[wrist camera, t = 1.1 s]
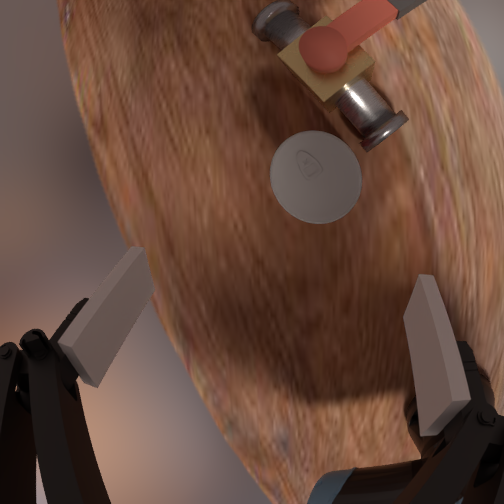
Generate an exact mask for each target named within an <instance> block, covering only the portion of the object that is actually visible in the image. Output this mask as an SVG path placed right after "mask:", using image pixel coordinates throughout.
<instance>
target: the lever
mask: <svg viewBox="0 0 504 504" xmlns="http://www.w3.org/2000/svg"><path fill="white" fill-rule="evenodd" d="M425 1H427V0H362V1H360V2H359V3H357V4H356V5H354V6H353V7H351V8H350V9H349V10H347V11H346V12H344V13H343V14H342V15H340V16H339V17H337V18H336V19H335V20H333V21H332V22H331V23H329V24H328V25H327V26H317V27H313V28H311V29H309V30H307V31H306V32H305V33H304V34H303V35H302V36H301V38H300V40H299V52H300V54H301V56H302V58H303V60H304V61H305V63H306V64H307V66H308V67H309V68H311V69H312V70H314V71H316V72H319V73H325V74H327V73H333V72H336V71H338V70H339V69H341V68H342V67H343V66H344V64H345V63H346V61H347V53H348V52H350V51H351V50H352V49H354V48H355V47H356V46H358V45H359V44H360V43H362V42H363V41H364V40H366V39H367V38H368V37H370V36H371V35H373V34H374V33H375V32H377V31H378V30H380V29H381V28H382V27H384V26H385V25H387V24H388V23H389V22H391V21H392V20H394V19H395V18H396V19H397V20H398V19H400V18H401V17H402V16H404V15H405V14H407V13H408V12H410V11H411V10H413V9H414V8H416V7H417V6H419V5H420V4H422V3H424V2H425Z"/></svg>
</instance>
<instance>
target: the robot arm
mask: <svg viewBox="0 0 504 504" xmlns="http://www.w3.org/2000/svg"><path fill="white" fill-rule="evenodd" d="M154 291H155V288H154V284H153V280H152V276H151V272H150V268H149V264H148V260H147V256H146V251H145V248H144V247H134V246H132V247H131V248H130V249H129V250H128V251H127V253H126V254H125V255H124V256H123V257H122V259H121V260H120V261H119V262H118V263H117V265H116V266H115V267H114V268H113V270H112V271H111V272H110V273H109V274H108V276H107V277H106V278H105V279H104V281H103V282H102V283H101V284H100V286H99V287H98V288H97V290H96V291H95V292H94V293H93V295H92V296H91V297H90V299H89V298H84V299H83V300H81V301H80V302H79V303H77V304H76V305H75V307H74V308H73V309H72V311H71V312H70V314H68V316H67V317H66V319H65V320H64V321H63V322H62V324H61V325H60V326H59V328H58V329H57V330H56V332H55V333H54V335H53V336H52V337H51V339H50V340H48V338H47V337H46V335H45V333H44V332H43V331H42V330H40V329H32V330H30V331H28V332H26V334H24V335H23V337H22V338H21V340H20V343H19V345H20V346H21V348H22V349H23V350H19V348H18V347H17V346H16V344H14V343H13V342H7V343H5V344H3V345H2V346H0V504H36V458H38V463H39V469H40V473H41V478H42V483H43V487H44V491H45V495H46V499H47V503H48V504H111V502H110V499H109V497H108V494H107V491H106V488H105V485H104V482H103V479H102V476H101V473H100V470H99V467H98V464H97V461H96V457H95V454H94V451H93V447H92V443H91V440H90V436H89V432H88V428H87V424H86V421H85V416H84V411H83V407H82V402H81V397H80V393H79V387H78V384H77V382H76V379H77V378H78V376H80V378H81V379H82V381H83V382H84V383H86V384H89V385H91V386H94V387H97V388H98V386H99V384H100V383H101V381H102V379H103V377H104V375H105V374H106V372H107V370H108V368H109V367H110V365H111V363H112V361H113V360H114V358H115V356H116V354H117V353H118V351H119V349H120V347H121V346H122V344H123V342H124V341H125V339H126V337H127V335H128V334H129V332H130V330H131V328H132V327H133V325H134V324H135V322H136V320H137V319H138V317H139V315H140V314H141V312H142V310H143V309H144V307H145V305H146V304H147V302H148V301H149V299H150V297H151V296H152V294H153V292H154ZM403 320H404V325H405V330H406V335H407V340H408V346H409V351H410V357H411V363H412V370H413V377H414V384H415V391H416V397H415V398H414V399H413V400H412V402H411V404H410V406H409V408H408V411H407V427H408V432H409V434H410V436H411V438H412V440H413V441H414V443H415V445H416V447H417V448H418V450H419V452H420V454H421V459H419V460H414V461H408V462H402V463H396V464H389V465H382V466H374V467H365V468H356V467H354V468H352V469H348V470H339V471H331V472H328V473H326V474H324V475H323V476H322V477H321V478H320V479H319V480H318V481H317V483H316V484H315V486H314V488H313V490H312V492H311V495H310V497H309V499H308V502H307V504H504V416H501V415H498V413H497V411H496V409H495V408H494V404H495V398H494V393H493V390H492V388H491V385H490V383H489V381H488V380H487V379H486V378H485V377H484V376H482V375H480V374H479V371H478V368H477V364H476V363H475V357H474V354H473V351H472V349H471V348H470V347H469V345H468V344H467V342H466V341H456V340H455V336H454V333H453V330H452V327H451V324H450V321H449V318H448V315H447V312H446V309H445V306H444V303H443V300H442V297H441V295H440V292H439V289H438V286H437V284H436V281H435V279H434V276H433V275H424V274H419V275H418V278H417V281H416V284H415V287H414V289H413V292H412V295H411V298H410V300H409V303H408V305H407V308H406V311H405V313H404V316H403ZM16 386H17V390H16V391H15V389H16Z"/></svg>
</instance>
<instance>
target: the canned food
mask: <svg viewBox="0 0 504 504" xmlns="http://www.w3.org/2000/svg"><path fill="white" fill-rule="evenodd" d="M270 181H271V186H272V189H273V192H274V195H275V196H276V198H277V200H278V202H279V203H280V204H281V205H282V207H283V208H284V209H285V210H286V211H287V212H289V213H290V214H291V215H292V216H294V217H296V218H297V219H299V220H302V221H305V222H308V223H314V224H326V223H330V222H334V221H336V220H338V219H340V218H342V217H343V216H345V215H346V214H347V213H348V212H349V211H350V210H351V209H352V208H353V207H354V205H355V204H356V202H357V200H358V198H359V195H360V192H361V188H362V174H361V168H360V165H359V162H358V160H357V158H356V156H355V154H354V152H353V151H352V150H351V149H350V147H349V146H348V145H347V144H346V143H344V142H343V141H342V140H341V139H339V138H338V137H336V136H334V135H332V134H329V133H326V132H323V131H315V130H312V131H304V132H300V133H297V134H295V135H293V136H291V137H289V138H287V139H286V140H285V141H284V142H283V143H282V144H281V145H280V146H279V148H278V149H277V150H276V152H275V154H274V156H273V159H272V162H271V166H270Z"/></svg>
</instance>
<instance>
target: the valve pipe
mask: <svg viewBox="0 0 504 504" xmlns="http://www.w3.org/2000/svg"><path fill="white" fill-rule="evenodd" d="M298 15H299V8H298V7H297V6H296V5H295V4H294V3H292V2H291V1H290V0H277V1H275V2H273V3H271V4H269V5H268V6H267V7H265V8H264V9H263V10H262V11H261V12H260V13H259V14H258V15H257V17H256V18H255V20H254V22H253V24H252V33H253V34H254V35H255V36H256V37H257V38H259V39H260V40H261V41H264V42H266V41H272V42H273V43H274V44H275V45H277V46H278V47H279V48H280V49H281V50H282V51H281V52H280V53H278V54H277V55H278V57H279V58H280V59H281V60H282V62H283V63H284V64H285V65H286V66H287V68H288V69H289V70H290V72H291V73H292V74H293V75H294V76H295V77H296V78H297V79H298V80H299V81H300V82H301V83H302V84H303V85H304V86H305V87H306V88H307V89H308V90H309V91H310V92H311V94H312V95H313V96H314V97H315V98H316V99H317V100H318V101H319V102H320V103H321V104H322V105H323V106H324V108H325V109H326V110H327V111H328V112H329V113H330V112H331V111H333V110H334V109H335V108H336V107H338V108H339V109H340V110H341V111H342V112H343V114H344V115H345V116H346V117H347V118H348V119H349V120H350V122H351V123H352V124H353V125H354V126H355V128H356V129H357V130H358V131H359V132H360V133H361V135H362V136H363V137H364V138H365V139H364V140H363V141H361V142H360V143H359V144H360V145H361V146H362V147H363V149H364V150H365V151H366V152H368V151H370V150H371V149H372V148H374V147H375V146H376V145H378V144H379V143H380V142H382V141H383V140H384V139H386V138H387V137H388V136H389V135H391V134H392V133H393V132H395V131H396V130H397V129H398V128H399V127H401V126H402V125H403V124H404V123H406V122H407V121H408V120H409V119H408V117H407V116H406V115H405V114H404V112H403V111H402V110H401V111H399V112H398V113H397V114H395V113H394V111H393V110H392V109H391V108H390V107H389V105H388V104H387V103H386V102H385V101H384V99H383V98H382V97H381V96H380V95H379V94H378V93H377V91H376V90H375V89H374V88H373V87H372V86H371V85H370V84H369V83H368V82H369V81H370V80H371V77H372V73H373V69H374V65H375V61H374V60H373V59H372V58H371V57H370V56H369V55H368V54H367V53H366V52H365V51H364V50H363V49H362V48H361V47H360V46H359V45H358V46H356V47H355V48H354V49H352V50H351V51H350V52H348V53H347V61H346V63H345V64H344V66H343V67H342V68H341V69H339V70H338V71H336V72H333V73H327V74H325V73H319V72H316V71H314V70H312V69H311V68H309V67H308V66H307V64H306V63H305V61H304V60H303V58H302V56H301V54H300V52H299V40H300V38H301V36H302V35H303V34H304V33H305V32H306V31H307V30H309V29H311V28H313V27H317V26H327V25H328V24H329V23H331V22H332V20H331V19H330V18H329V17H328V16H325V17H324V18H322V19H321V20H320V21H318V22H317V23H316V24H315V25H313V26H312V27H311V26H310V25H309V24H308V23H306V22H305V21H304V20H303V19H302V18H301V17H299V16H298Z"/></svg>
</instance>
